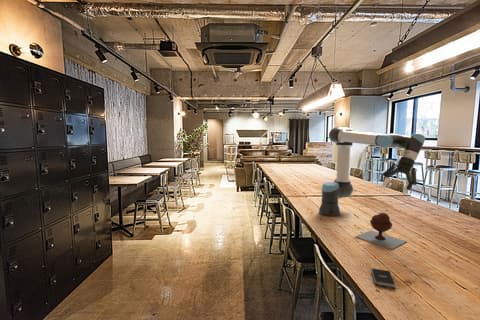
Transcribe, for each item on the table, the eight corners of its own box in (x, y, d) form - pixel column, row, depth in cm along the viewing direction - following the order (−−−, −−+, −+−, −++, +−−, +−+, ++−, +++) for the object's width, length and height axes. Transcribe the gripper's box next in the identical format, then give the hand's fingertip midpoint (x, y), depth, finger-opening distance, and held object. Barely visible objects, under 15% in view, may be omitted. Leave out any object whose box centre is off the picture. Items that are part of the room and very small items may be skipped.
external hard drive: (375, 286, 99) (375, 281, 99) (371, 272, 110) (371, 268, 109) (395, 290, 97) (395, 285, 97) (389, 275, 107) (389, 270, 107)
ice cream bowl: (388, 235, 147) (390, 210, 146) (393, 243, 137) (394, 216, 135) (368, 233, 151) (369, 208, 149) (371, 240, 140) (372, 214, 139)
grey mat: (355, 237, 147) (355, 236, 147) (370, 231, 156) (370, 230, 156) (391, 250, 130) (392, 248, 130) (406, 242, 140) (407, 241, 140)
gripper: (386, 152, 163) (371, 182, 163) (426, 160, 140) (409, 195, 141) (392, 156, 166) (379, 186, 166) (433, 165, 143) (417, 199, 144)
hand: (393, 190), depth 154 cm, fingers open, 13 cm apart
